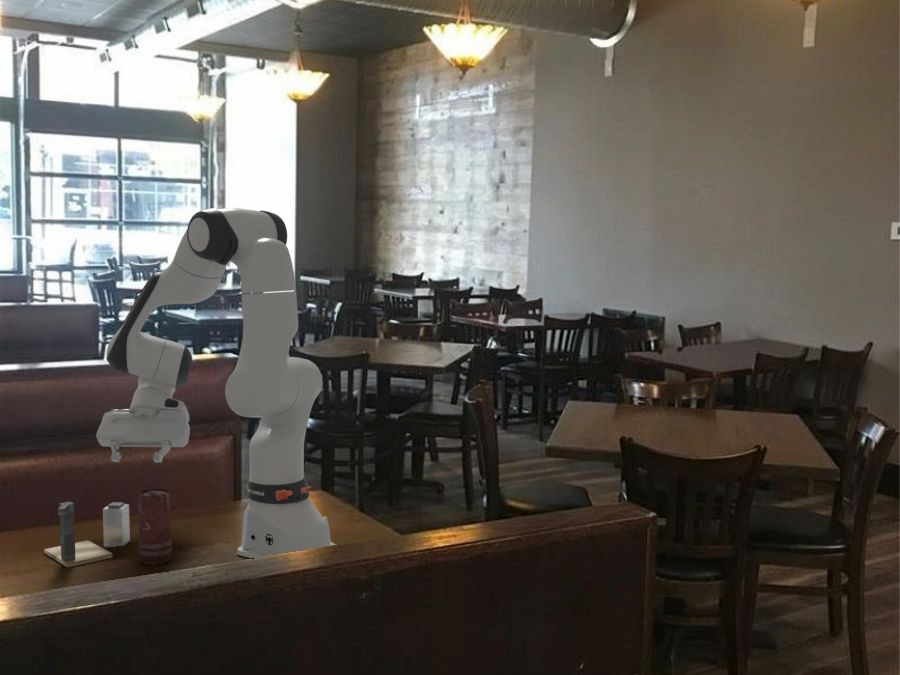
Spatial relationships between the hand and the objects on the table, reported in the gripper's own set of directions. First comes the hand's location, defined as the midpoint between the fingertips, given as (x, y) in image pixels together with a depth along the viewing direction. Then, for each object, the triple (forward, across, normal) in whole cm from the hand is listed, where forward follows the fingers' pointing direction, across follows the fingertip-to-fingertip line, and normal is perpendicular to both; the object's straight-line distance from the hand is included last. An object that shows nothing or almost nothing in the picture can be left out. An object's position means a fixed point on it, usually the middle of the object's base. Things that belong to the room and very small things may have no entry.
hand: (136, 460), depth 211 cm
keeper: (+26, -5, -4) cm, 26 cm away
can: (+27, +12, -6) cm, 30 cm away
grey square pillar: (+19, 0, +2) cm, 19 cm away
